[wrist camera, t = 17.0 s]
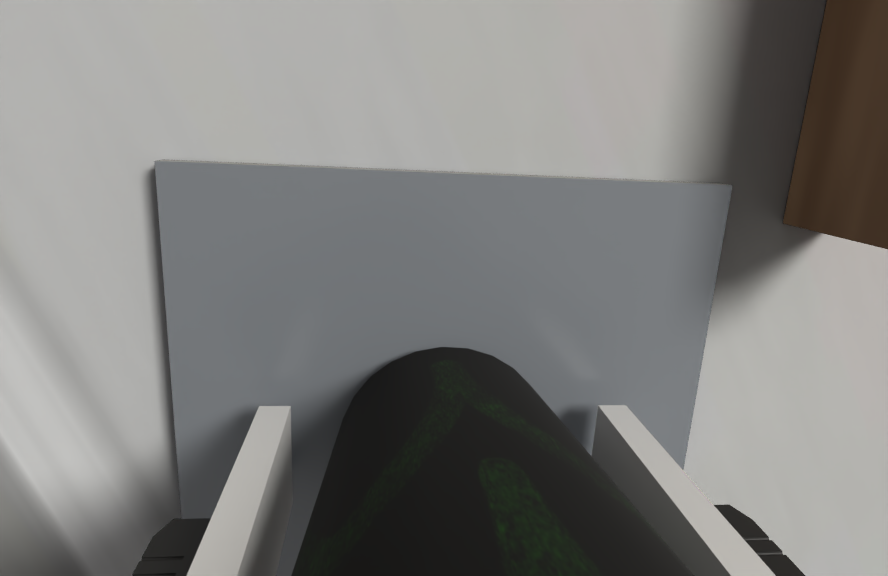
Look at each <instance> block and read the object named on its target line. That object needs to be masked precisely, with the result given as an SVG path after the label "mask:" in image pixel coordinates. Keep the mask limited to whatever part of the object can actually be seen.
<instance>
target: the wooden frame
mask: <svg viewBox="0 0 888 576" xmlns="http://www.w3.org/2000/svg"><path fill="white" fill-rule="evenodd" d="M783 224H787V225H791V226H795V227H799V228H804V229H808V230H812V231H816V232H820V233H824V234H828V235H832V236H836V237H840V238H844V239H848V240H852V241H857V242H861V243H865V244H869V245H873V246H877V247H881V248H885V249H888V0H827V3H826V8H825V13H824V18H823V23H822V28H821V33H820V38H819V43H818V48H817V53H816V58H815V63H814V68H813V73H812V78H811V83H810V88H809V93H808V98H807V104H806V109H805V114H804V119H803V124H802V129H801V134H800V139H799V144H798V149H797V154H796V159H795V164H794V169H793V174H792V179H791V184H790V189H789V194H788V199H787V204H786V210H785V215H784V220H783Z"/></svg>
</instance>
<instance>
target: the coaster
mask: <svg viewBox="0 0 888 576" xmlns="http://www.w3.org/2000/svg"><path fill="white" fill-rule="evenodd" d="M155 175H156V188H157V201H158V214H159V228H160V241H161V254H162V267H163V281H164V294H165V307H166V320H167V334H168V347H169V360H170V373H171V387H172V400H173V413H174V426H175V440H176V453H177V466H178V479H179V493H180V506H181V519H197V518H211V517H212V515H213V513H214V510H215V508H216V506H217V503H218V501H219V499H220V496H221V494H222V492H223V489H224V487H225V485H226V482H227V480H228V478H229V475H230V473H231V471H232V468H233V466H234V464H235V461H236V459H237V457H238V454H239V452H240V450H241V447H242V445H243V443H244V440H245V438H246V436H247V433H248V431H249V429H250V426H251V424H252V422H253V419H254V417H255V415H256V412H257V410H258V408H259V406H291V445H292V497H293V503H292V507H291V511H290V516H289V520H288V525H287V529H286V533H285V538H284V542H283V546H282V551H281V555H280V559H279V564H278V568H277V572H276V576H291V575H292V572H293V569H294V566H295V563H296V560H297V557H298V554H299V551H300V548H301V545H302V542H303V539H304V536H305V533H306V530H307V527H308V523H309V520H310V517H311V514H312V511H313V508H314V505H315V502H316V499H317V496H318V493H319V490H320V487H321V484H322V481H323V478H324V475H325V472H326V469H327V466H328V463H329V460H330V457H331V454H332V450H333V447H334V444H335V441H336V438H337V435H338V432H339V429H340V426H341V423H342V420H343V417H344V415H345V413H346V411H347V409H348V407H349V405H350V403H351V401H352V399H353V397H354V396H355V394H356V393H357V392H358V391H359V390H360V388H361V387H362V386H363V385H364V384H365V383H366V381H367V380H368V379H369V378H370V377H371V376H372V375H374V374H375V373H376V372H378V371H379V370H381V369H382V368H383V367H385V366H386V365H387V364H389V363H390V362H392V361H394V360H397V359H399V358H401V357H404V356H406V355H408V354H411V353H413V352H415V351H421V350H427V349H432V348H438V347H454V348H469V349H472V350H475V351H479V352H482V353H486V354H489V355H492V356H494V357H496V358H497V359H499V360H501V361H502V362H504V363H506V364H508V365H509V366H511V367H513V368H514V369H515V370H516V371H517V372H518V373H519V374H520V375H521V376H522V377H523V378H524V379H525V380H526V381H527V382H528V383H529V384H530V385H531V387H532V388H533V389H534V390H535V391H536V392H537V393H538V395H539V396H540V397H541V398H542V399H543V400H544V402H545V403H546V404H547V405H548V406H549V407H550V409H551V410H552V411H553V412H554V413H555V414H556V416H557V417H558V418H559V419H560V420H561V421H562V423H563V424H564V425H565V426H566V427H567V428H568V430H569V431H570V432H571V433H572V434H573V435H574V436H575V438H576V439H577V440H578V441H579V442H580V443H581V445H582V446H583V447H584V448H585V449H586V450H587V452H588V453H589V454H590V455H591V456H592V448H593V441H594V433H595V425H596V417H597V409H598V405H626V406H627V407H628V408H629V409H630V411H631V412H632V413H633V414H634V415H635V416H636V417H637V419H638V420H639V421H640V422H641V423H642V424H643V425H644V427H645V428H646V429H647V430H648V431H649V432H650V433H651V434H652V436H653V437H654V438H655V439H656V440H657V441H658V442H659V444H660V445H661V446H662V447H663V448H664V449H665V450H666V452H667V453H668V454H669V455H670V456H671V457H672V458H673V459H674V461H675V462H676V463H677V464H678V465H679V466H680V467H681V469H682V470H683V469H684V463H685V457H686V451H687V446H688V440H689V434H690V428H691V422H692V417H693V411H694V405H695V399H696V394H697V388H698V382H699V376H700V370H701V365H702V359H703V353H704V347H705V342H706V336H707V330H708V324H709V319H710V313H711V307H712V301H713V295H714V290H715V284H716V278H717V272H718V267H719V261H720V255H721V249H722V244H723V238H724V232H725V226H726V220H727V215H728V209H729V203H730V197H731V192H732V186H733V185H727V184H721V183H702V182H679V181H655V180H632V179H609V178H585V177H562V176H538V175H515V174H491V173H468V172H445V171H421V170H398V169H374V168H351V167H328V166H304V165H281V164H257V163H234V162H210V161H187V160H157V161H155Z"/></svg>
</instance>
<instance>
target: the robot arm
mask: <svg viewBox="0 0 888 576" xmlns="http://www.w3.org/2000/svg"><path fill="white" fill-rule="evenodd" d="M592 457H593V459H594V460H595V461H596V462H597V463H598V464H599V466H600V467H601V468H602V469H603V470H604V471H605V473H606V474H607V475H608V476H609V477H610V478H611V479H612V481H613V482H614V483H615V484H616V485H617V486H618V488H619V489H620V490H621V491H622V492H623V493H624V495H625V496H626V497H627V498H628V499H629V500H630V502H631V503H632V504H633V505H634V506H635V507H636V509H637V510H638V511H639V512H640V513H641V514H642V516H643V517H644V518H645V519H646V520H647V521H648V522H649V524H650V525H651V526H652V527H653V528H654V529H655V531H656V532H657V533H658V534H659V535H660V536H661V538H662V539H663V540H664V541H665V542H666V543H667V545H668V546H669V547H670V548H671V549H672V550H673V552H674V553H675V554H676V555H677V556H678V557H679V559H680V560H681V561H682V562H683V563H684V564H685V565H686V567H687V568H688V569H689V570H690V571H691V572H692V574H693V575H694V576H805V575H804V574H803V573H802V572H801V571H800V570H799V569H798V567H797V566H796V565H795V564H794V563H793V562H792V561H791V560H790V559H789V558H788V557H787V556H786V555H783V554H782V551H781V549H780V548H779V547H778V546H777V545H776V544H775V543H774V542H773V541H772V540H769V537H768V536H767V535H766V534H765V533H764V532H763V530H762V529H761V528H760V527H759V526H758V525H757V524H756V523H755V522H754V521H753V520H752V519H751V518H749V517H747V516H746V515H744V514H743V513H741V512H740V511H738V510H737V509H735V508H733V507H732V506H730V505H713V504H712V503H711V502H710V500H709V499H708V498H707V497H706V496H705V495H704V494H703V492H702V491H701V490H700V489H699V488H698V487H697V486H696V484H695V483H694V482H693V481H692V480H691V479H690V478H689V477H688V475H687V474H686V473H685V472H684V471H683V470H682V469H681V467H680V466H679V465H678V464H677V463H676V462H675V461H674V459H673V458H672V457H671V456H670V455H669V454H668V453H667V452H666V450H665V449H664V448H663V447H662V446H661V445H660V444H659V442H658V441H657V440H656V439H655V438H654V437H653V436H652V434H651V433H650V432H649V431H648V430H647V429H646V428H645V427H644V425H643V424H642V423H641V422H640V421H639V420H638V419H637V417H636V416H635V415H634V414H633V413H632V412H631V411H630V409H629V408H628V407H627V406H626V405H598V409H597V417H596V425H595V433H594V441H593V448H592ZM292 503H293V497H292V445H291V406H259V408H258V410H257V412H256V415H255V417H254V419H253V422H252V424H251V426H250V429H249V431H248V433H247V436H246V438H245V440H244V443H243V445H242V447H241V450H240V452H239V454H238V457H237V459H236V461H235V464H234V466H233V468H232V471H231V473H230V475H229V478H228V480H227V482H226V485H225V487H224V489H223V492H222V494H221V496H220V499H219V501H218V503H217V506H216V508H215V510H214V513H213V515H212V517H211V518H197V519H173V520H172V521H171V522H170V523H169V524H167V525H166V526H165V527H164V528H163V529H162V530H160V531H159V532H158V533H157V534H156V535H155V536H154V537H153V538H152V540H151V542H150V543H149V545H148V547H147V549H146V551H145V553H144V554H143V556H142V561H140V562H139V563H138V565H137V567H136V569H135V571H134V573H133V576H276V572H277V568H278V564H279V559H280V555H281V551H282V546H283V542H284V538H285V533H286V529H287V525H288V520H289V516H290V511H291V507H292Z"/></svg>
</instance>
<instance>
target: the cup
mask: <svg viewBox="0 0 888 576" xmlns="http://www.w3.org/2000/svg"><path fill="white" fill-rule="evenodd" d="M291 576H694V575H693V574H692V572H691V571H690V570H689V569H688V568H687V567H686V565H685V564H684V563H683V562H682V561H681V560H680V559H679V557H678V556H677V555H676V554H675V553H674V552H673V550H672V549H671V548H670V547H669V546H668V545H667V543H666V542H665V541H664V540H663V539H662V538H661V536H660V535H659V534H658V533H657V532H656V531H655V529H654V528H653V527H652V526H651V525H650V524H649V522H648V521H647V520H646V519H645V518H644V517H643V516H642V514H641V513H640V512H639V511H638V510H637V509H636V507H635V506H634V505H633V504H632V503H631V502H630V500H629V499H628V498H627V497H626V496H625V495H624V493H623V492H622V491H621V490H620V489H619V488H618V486H617V485H616V484H615V483H614V482H613V481H612V479H611V478H610V477H609V476H608V475H607V474H606V473H605V471H604V470H603V469H602V468H601V467H600V466H599V464H598V463H597V462H596V461H595V460H594V459H593V457H592V456H591V455H590V454H589V453H588V452H587V450H586V449H585V448H584V447H583V446H582V445H581V443H580V442H579V441H578V440H577V439H576V438H575V436H574V435H573V434H572V433H571V432H570V431H569V430H568V428H567V427H566V426H565V425H564V424H563V423H562V421H561V420H560V419H559V418H558V417H557V416H556V414H555V413H554V412H553V411H552V410H551V409H550V407H549V406H548V405H547V404H546V403H545V402H544V400H543V399H542V398H541V397H540V396H539V395H538V393H537V392H536V391H535V390H534V389H533V388H532V387H531V385H530V384H529V383H528V382H527V381H526V380H525V379H524V378H523V377H522V376H521V375H520V374H519V373H518V372H517V371H516V370H515V369H514V368H513V367H511V366H509V365H508V364H506V363H504V362H502V361H501V360H499V359H497V358H496V357H494V356H492V355H489V354H486V353H482V352H479V351H475V350H472V349H469V348H454V347H438V348H432V349H427V350H421V351H415V352H413V353H411V354H408V355H406V356H404V357H401V358H399V359H397V360H394V361H392V362H390V363H389V364H387V365H386V366H385V367H383V368H382V369H381V370H379V371H378V372H376V373H375V374H374V375H372V376H371V377H370V378H369V379H368V380H367V381H366V383H365V384H364V385H363V386H362V387H361V388H360V390H359V391H358V392H357V393H356V394H355V396H354V397H353V399H352V401H351V403H350V405H349V407H348V409H347V411H346V413H345V415H344V417H343V420H342V423H341V426H340V429H339V432H338V435H337V438H336V441H335V444H334V447H333V450H332V454H331V457H330V460H329V463H328V466H327V469H326V472H325V475H324V478H323V481H322V484H321V487H320V490H319V493H318V496H317V499H316V502H315V505H314V508H313V511H312V514H311V517H310V520H309V523H308V527H307V530H306V533H305V536H304V539H303V542H302V545H301V548H300V551H299V554H298V557H297V560H296V563H295V566H294V569H293V572H292V575H291Z"/></svg>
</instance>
